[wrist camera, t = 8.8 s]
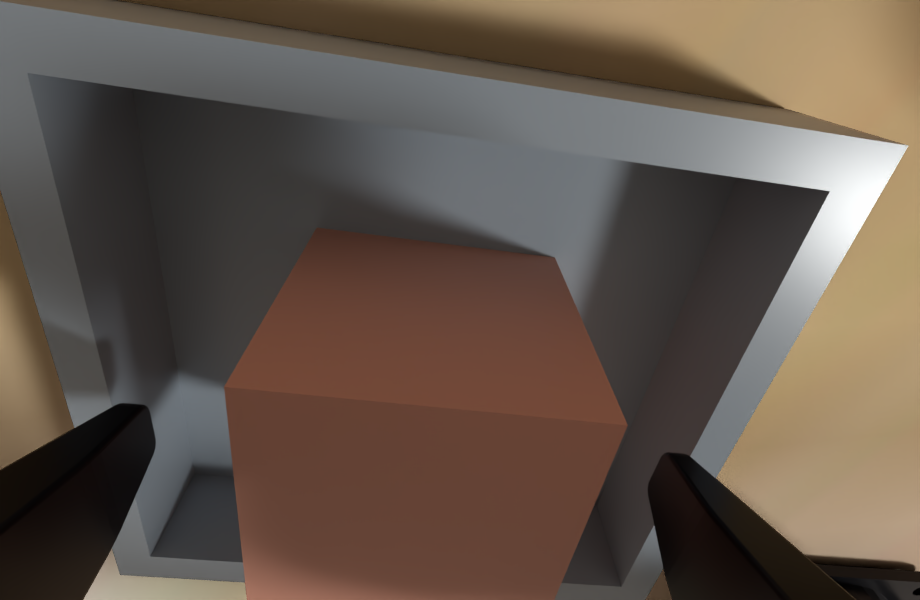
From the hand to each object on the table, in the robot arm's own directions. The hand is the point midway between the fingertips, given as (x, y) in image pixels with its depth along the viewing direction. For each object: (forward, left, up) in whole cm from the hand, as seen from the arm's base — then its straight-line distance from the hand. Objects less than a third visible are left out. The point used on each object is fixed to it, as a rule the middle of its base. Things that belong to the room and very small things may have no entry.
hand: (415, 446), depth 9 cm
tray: (0, 0, -4) cm, 4 cm away
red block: (0, 0, -3) cm, 3 cm away
